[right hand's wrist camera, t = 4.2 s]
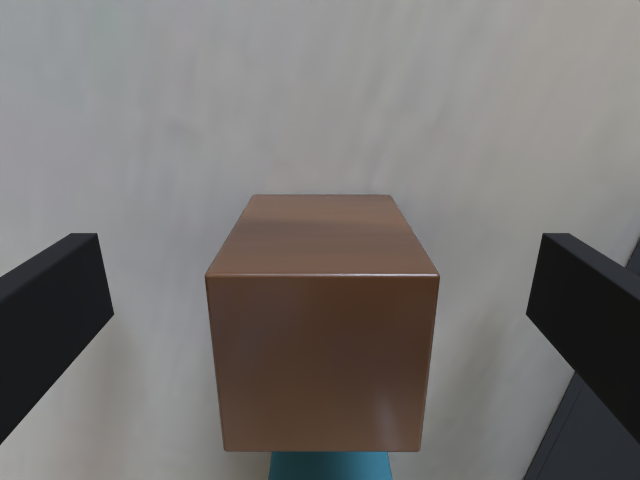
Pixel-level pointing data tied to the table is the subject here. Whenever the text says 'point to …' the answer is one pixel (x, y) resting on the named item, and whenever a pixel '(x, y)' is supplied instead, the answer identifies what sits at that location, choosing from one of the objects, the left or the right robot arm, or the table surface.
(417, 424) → the walnut block
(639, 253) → the tray
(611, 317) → the right robot arm
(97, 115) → the table surface
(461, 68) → the table surface
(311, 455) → the teal block
